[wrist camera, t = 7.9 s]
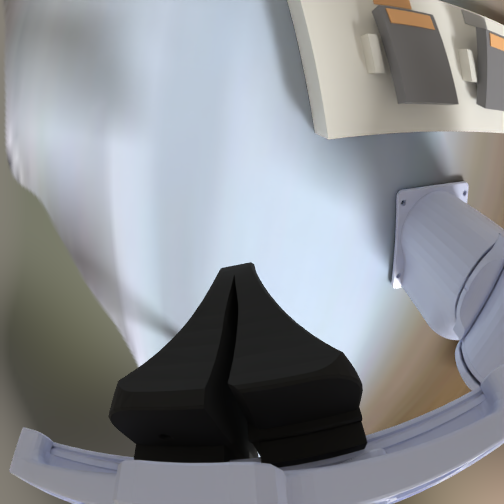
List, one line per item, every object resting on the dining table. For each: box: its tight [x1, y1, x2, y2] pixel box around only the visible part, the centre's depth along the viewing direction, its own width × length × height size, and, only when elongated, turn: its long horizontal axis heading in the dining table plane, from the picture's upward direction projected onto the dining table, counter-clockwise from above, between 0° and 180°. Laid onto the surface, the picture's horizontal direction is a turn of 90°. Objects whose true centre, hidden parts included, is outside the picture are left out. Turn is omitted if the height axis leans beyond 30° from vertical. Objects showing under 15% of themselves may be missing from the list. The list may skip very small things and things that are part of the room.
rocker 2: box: [476, 27, 504, 111], centre depth 10 cm, size 6×4×1 cm, turn 11°
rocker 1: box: [372, 5, 459, 105], centre depth 11 cm, size 6×4×1 cm, turn 11°
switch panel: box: [287, 0, 504, 139], centre depth 13 cm, size 10×28×4 cm, turn 101°
